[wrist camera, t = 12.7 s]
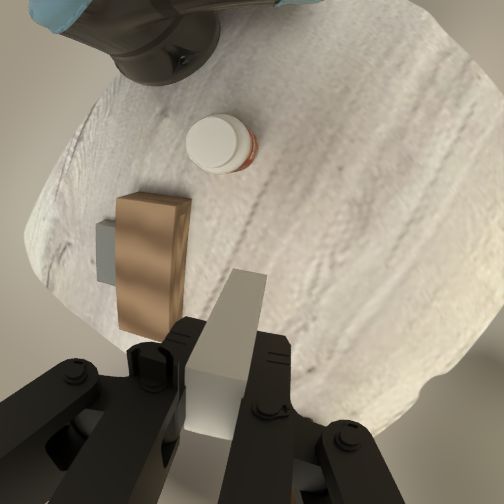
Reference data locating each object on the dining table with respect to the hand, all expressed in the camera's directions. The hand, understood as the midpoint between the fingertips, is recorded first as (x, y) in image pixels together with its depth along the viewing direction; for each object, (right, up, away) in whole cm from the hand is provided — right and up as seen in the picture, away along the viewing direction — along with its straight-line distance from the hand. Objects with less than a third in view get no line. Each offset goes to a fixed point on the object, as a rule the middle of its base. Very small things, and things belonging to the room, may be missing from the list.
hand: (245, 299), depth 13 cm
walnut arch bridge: (-13, +1, +27) cm, 30 cm away
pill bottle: (-2, +15, +21) cm, 26 cm away
